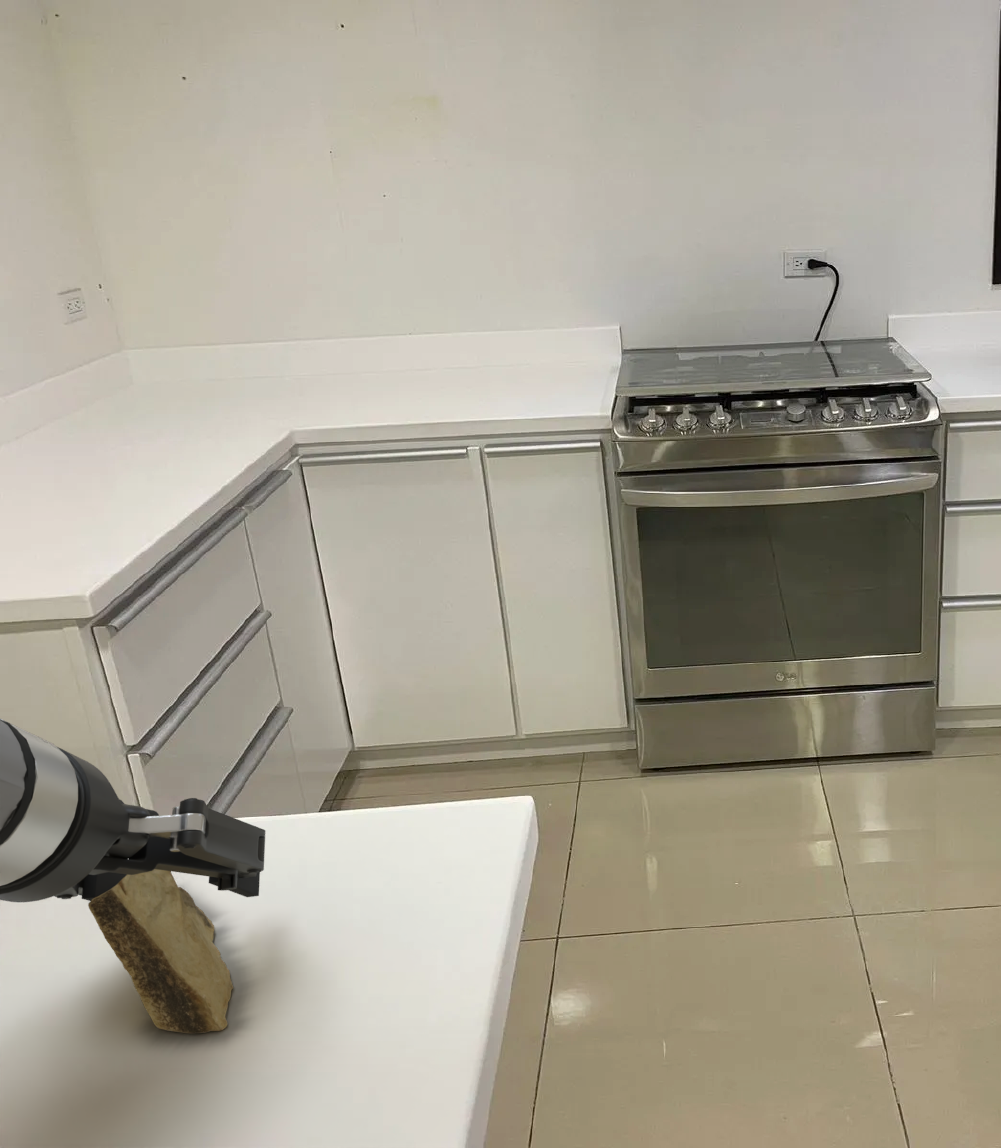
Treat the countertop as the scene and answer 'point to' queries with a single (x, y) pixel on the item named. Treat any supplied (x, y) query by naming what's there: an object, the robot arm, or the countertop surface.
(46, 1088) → the countertop surface
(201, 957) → the rock
